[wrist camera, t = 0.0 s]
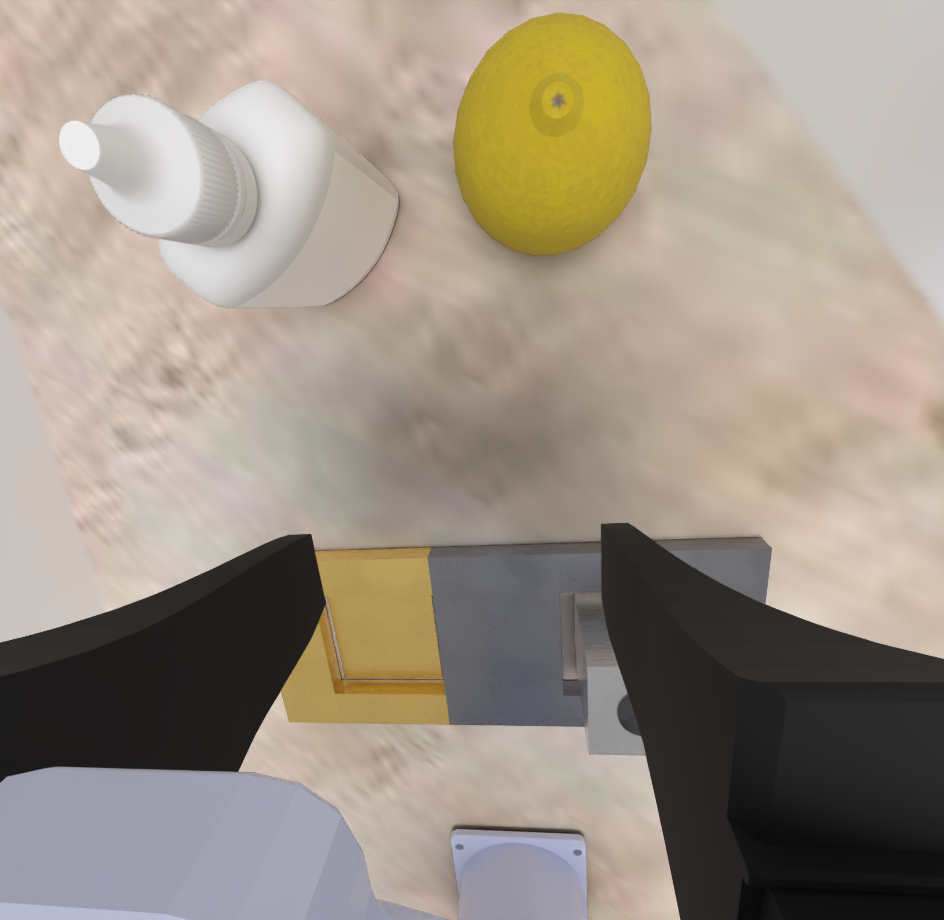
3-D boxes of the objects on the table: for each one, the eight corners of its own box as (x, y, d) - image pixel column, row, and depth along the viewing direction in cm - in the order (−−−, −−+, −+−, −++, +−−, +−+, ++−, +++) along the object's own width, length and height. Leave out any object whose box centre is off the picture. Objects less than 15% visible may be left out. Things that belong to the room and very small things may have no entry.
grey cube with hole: (666, 667, 24) (702, 759, 19) (576, 667, 25) (589, 756, 20) (670, 590, 23) (710, 668, 18) (574, 592, 23) (587, 668, 18)
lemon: (458, 249, 19) (414, 216, 11) (484, 82, 17) (454, -92, 9) (596, 276, 19) (647, 260, 11) (638, 110, 17) (734, -46, 9)
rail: (741, 712, 24) (750, 729, 23) (297, 707, 27) (289, 722, 26) (760, 537, 21) (771, 548, 20) (257, 552, 24) (246, 563, 23)
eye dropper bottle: (426, 265, 19) (287, 217, 8) (304, 315, 20) (28, 336, 9) (384, 148, 18) (147, -111, 7) (257, 207, 19) (-132, 73, 8)
